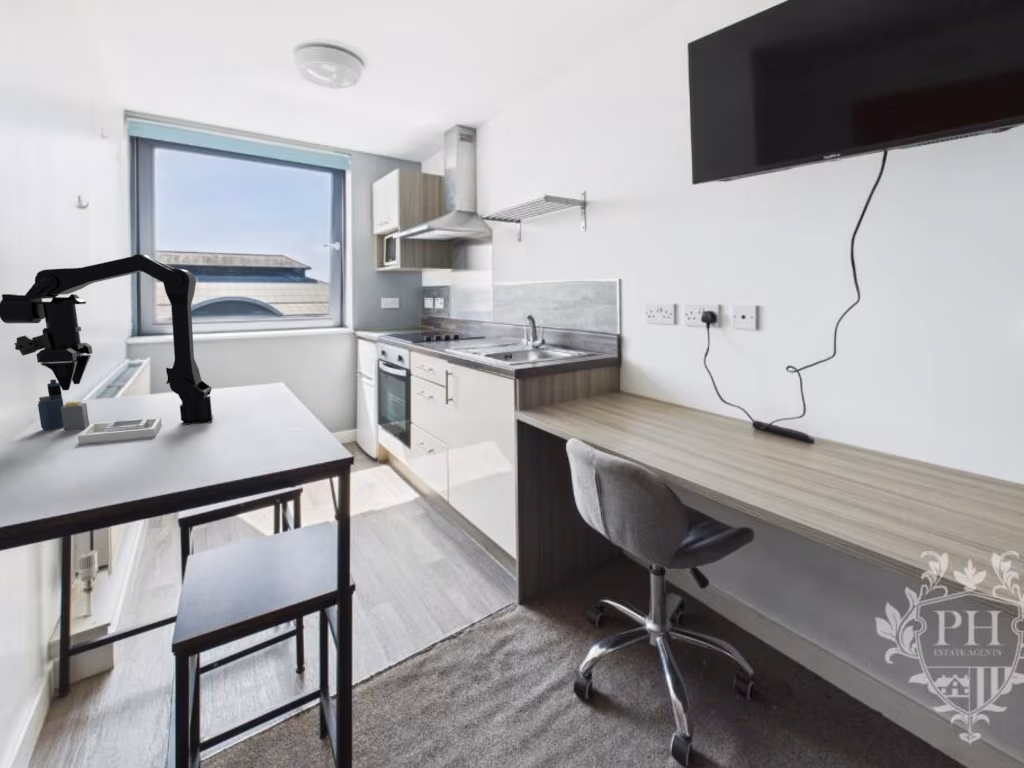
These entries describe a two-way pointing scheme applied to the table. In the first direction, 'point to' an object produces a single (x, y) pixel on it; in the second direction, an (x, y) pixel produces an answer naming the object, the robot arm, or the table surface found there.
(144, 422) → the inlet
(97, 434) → the walled tray
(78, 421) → the block
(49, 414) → the vaping device
